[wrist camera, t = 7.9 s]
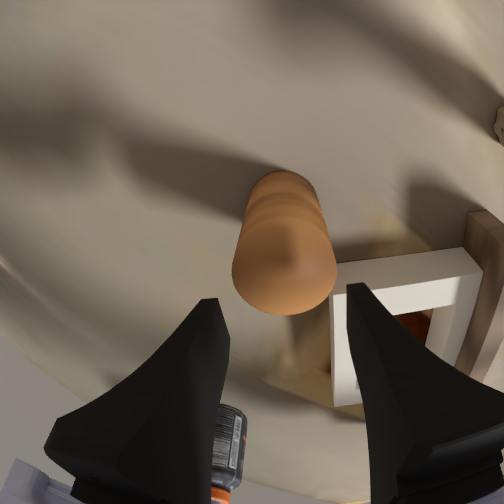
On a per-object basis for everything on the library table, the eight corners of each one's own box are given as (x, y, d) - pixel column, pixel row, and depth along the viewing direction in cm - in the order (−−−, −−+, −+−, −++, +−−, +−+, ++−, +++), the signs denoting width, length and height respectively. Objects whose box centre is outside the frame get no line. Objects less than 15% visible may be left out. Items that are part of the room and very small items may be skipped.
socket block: (435, 359, 26) (445, 385, 23) (331, 377, 28) (334, 407, 25) (462, 246, 20) (483, 271, 17) (326, 264, 22) (333, 295, 19)
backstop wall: (445, 374, 28) (461, 417, 22) (429, 377, 28) (444, 422, 23) (487, 210, 18) (532, 250, 13) (467, 212, 19) (511, 254, 14)
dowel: (320, 230, 21) (338, 309, 14) (255, 238, 21) (242, 319, 15) (313, 166, 19) (334, 220, 12) (242, 176, 19) (221, 234, 12)
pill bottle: (234, 432, 35) (222, 511, 26) (190, 417, 34) (171, 498, 24) (257, 414, 33) (248, 504, 23) (209, 397, 31) (190, 491, 22)
